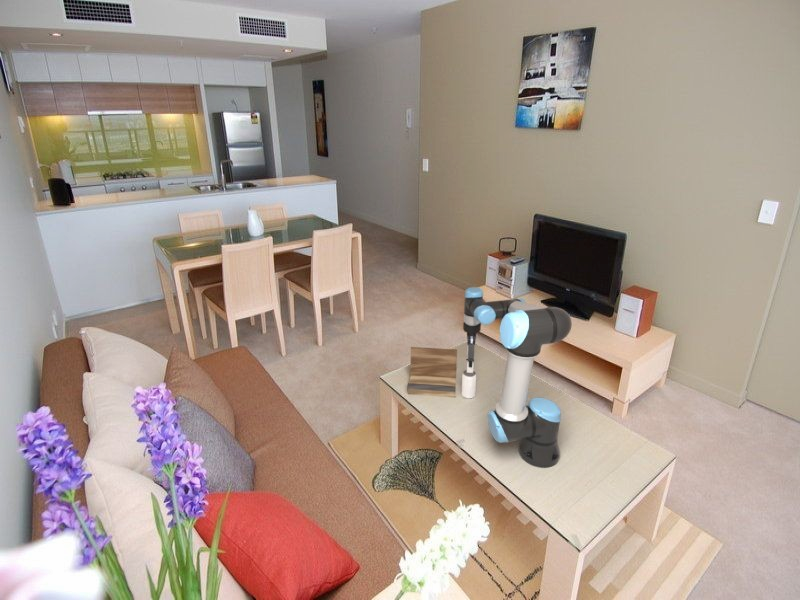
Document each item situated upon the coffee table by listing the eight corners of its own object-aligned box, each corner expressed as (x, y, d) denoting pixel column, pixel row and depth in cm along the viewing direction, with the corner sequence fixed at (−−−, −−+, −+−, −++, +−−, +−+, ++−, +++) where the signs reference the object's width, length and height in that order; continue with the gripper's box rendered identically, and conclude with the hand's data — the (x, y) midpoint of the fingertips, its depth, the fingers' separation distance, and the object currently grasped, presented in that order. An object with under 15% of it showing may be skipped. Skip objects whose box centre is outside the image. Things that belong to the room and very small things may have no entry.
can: (464, 400, 212) (465, 377, 207) (459, 392, 218) (460, 370, 213) (477, 397, 214) (478, 375, 209) (471, 389, 219) (473, 368, 215)
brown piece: (455, 397, 214) (456, 363, 207) (408, 394, 217) (407, 361, 210) (455, 381, 226) (457, 349, 219) (411, 378, 229) (410, 346, 222)
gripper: (481, 336, 189) (478, 380, 198) (480, 310, 211) (477, 350, 220) (463, 335, 190) (461, 378, 198) (463, 309, 212) (461, 349, 221)
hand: (469, 364), depth 209 cm, fingers open, 13 cm apart
